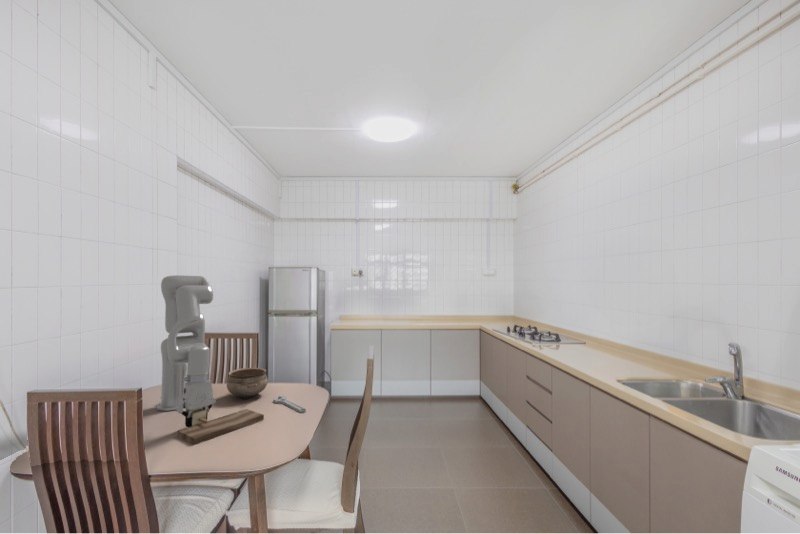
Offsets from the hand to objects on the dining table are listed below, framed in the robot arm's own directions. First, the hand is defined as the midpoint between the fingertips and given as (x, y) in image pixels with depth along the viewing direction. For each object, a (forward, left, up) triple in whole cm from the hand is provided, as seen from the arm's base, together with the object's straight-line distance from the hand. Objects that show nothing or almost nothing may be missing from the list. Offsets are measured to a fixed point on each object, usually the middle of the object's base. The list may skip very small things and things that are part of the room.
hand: (196, 424), depth 141 cm
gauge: (+2, 0, -1) cm, 2 cm away
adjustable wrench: (+10, +37, -2) cm, 38 cm away
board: (+9, +6, -1) cm, 11 cm away
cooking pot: (-18, +34, -1) cm, 38 cm away
